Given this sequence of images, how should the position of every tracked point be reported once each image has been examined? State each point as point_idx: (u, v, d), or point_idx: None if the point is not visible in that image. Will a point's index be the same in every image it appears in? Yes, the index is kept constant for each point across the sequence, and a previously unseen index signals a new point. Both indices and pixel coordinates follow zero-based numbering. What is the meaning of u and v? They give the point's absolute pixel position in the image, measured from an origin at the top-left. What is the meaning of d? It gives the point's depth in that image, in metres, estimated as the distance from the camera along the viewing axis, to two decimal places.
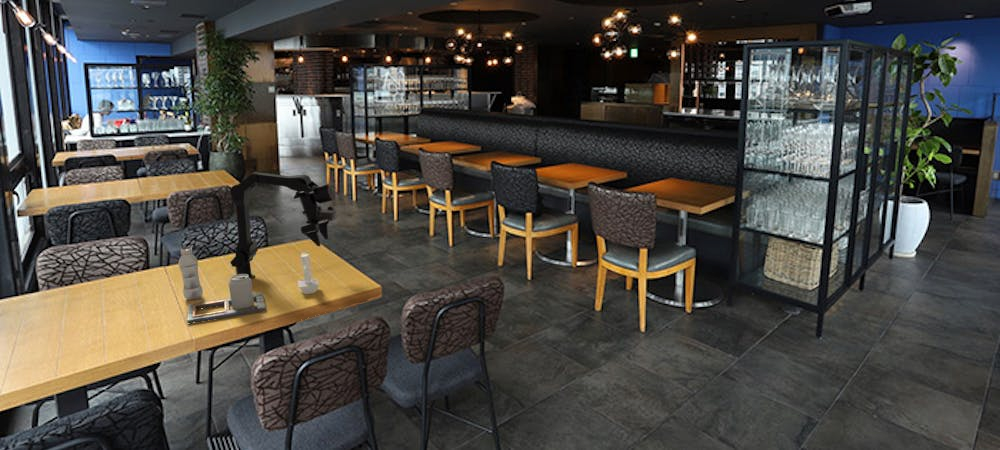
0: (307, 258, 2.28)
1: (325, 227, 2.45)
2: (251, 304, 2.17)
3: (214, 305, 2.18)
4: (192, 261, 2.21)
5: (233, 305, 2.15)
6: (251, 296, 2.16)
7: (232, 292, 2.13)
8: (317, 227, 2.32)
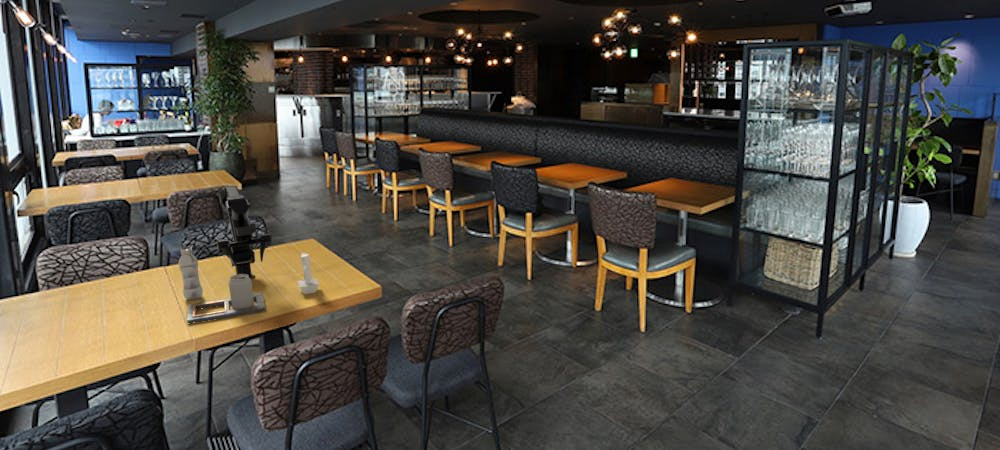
0: (307, 258, 2.28)
1: (260, 248, 2.25)
2: (251, 304, 2.17)
3: (214, 305, 2.18)
4: (192, 261, 2.21)
5: (233, 305, 2.15)
6: (251, 296, 2.16)
7: (232, 292, 2.13)
8: (223, 244, 2.19)
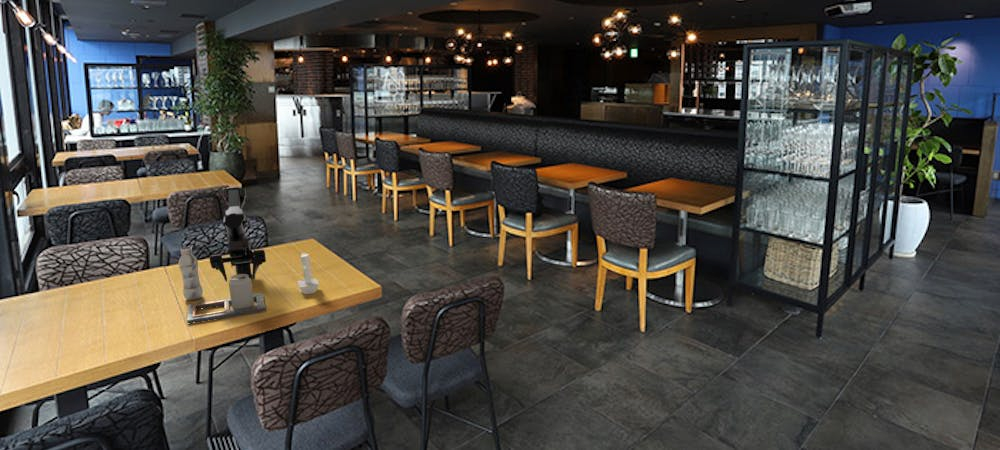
0: (307, 258, 2.28)
1: (253, 264, 2.21)
2: (251, 304, 2.17)
3: (214, 305, 2.18)
4: (192, 261, 2.21)
5: (233, 305, 2.15)
6: (251, 296, 2.16)
7: (232, 292, 2.13)
8: (215, 258, 2.16)
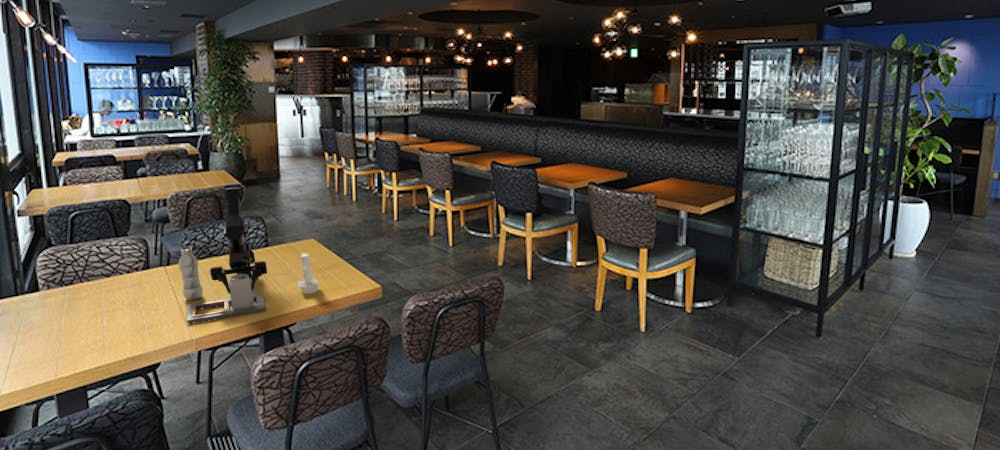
0: (307, 258, 2.28)
1: (252, 276, 2.18)
2: (251, 304, 2.17)
3: (214, 305, 2.18)
4: (192, 261, 2.21)
5: (233, 305, 2.15)
6: (251, 296, 2.16)
7: (232, 292, 2.13)
8: (216, 271, 2.13)
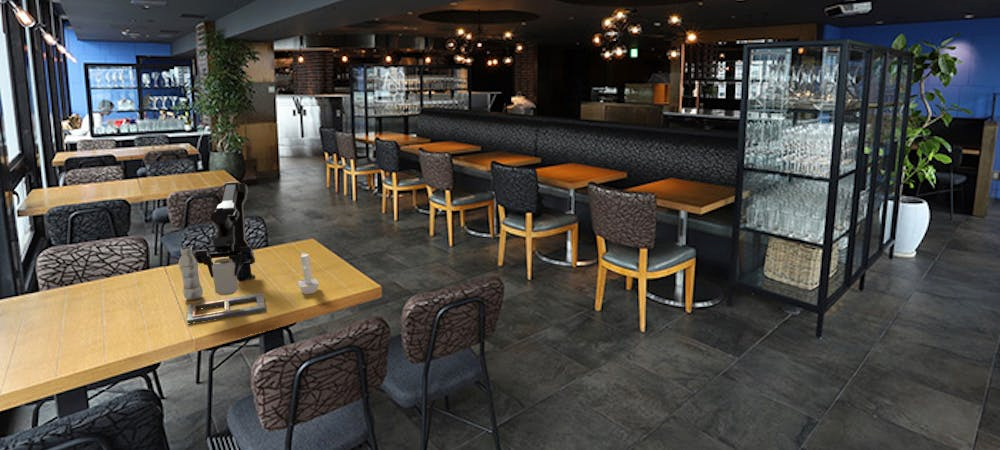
0: (307, 258, 2.28)
1: None
2: (234, 289, 2.12)
3: (214, 305, 2.18)
4: (192, 261, 2.21)
5: (216, 289, 2.11)
6: (234, 281, 2.12)
7: (214, 276, 2.09)
8: (200, 254, 2.10)
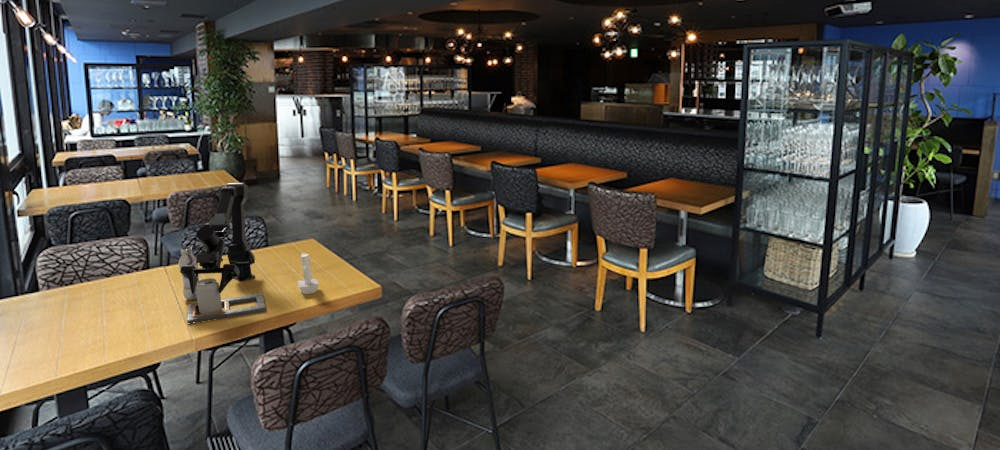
0: (307, 258, 2.28)
1: None
2: (216, 310, 2.11)
3: None
4: (192, 261, 2.21)
5: (199, 309, 2.11)
6: (216, 302, 2.11)
7: (197, 296, 2.09)
8: (185, 269, 2.11)
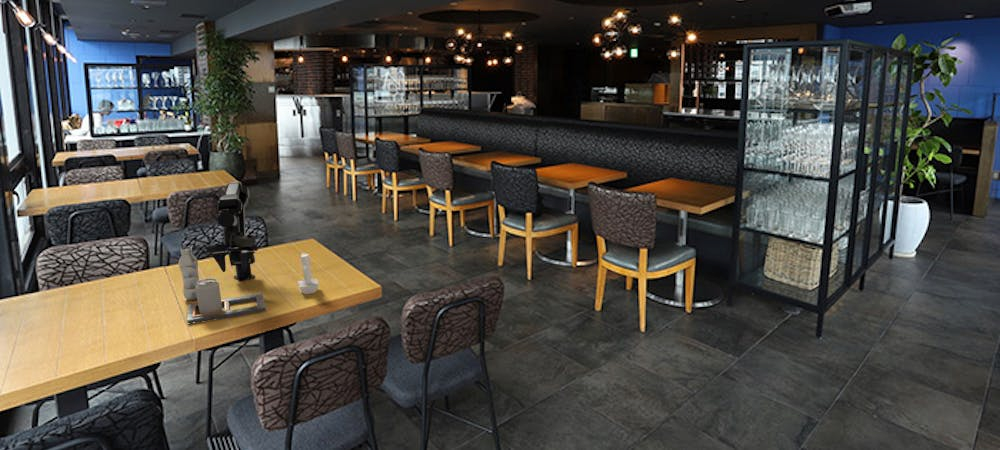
0: (307, 258, 2.28)
1: (246, 257, 2.29)
2: (216, 310, 2.11)
3: None
4: (192, 261, 2.21)
5: (199, 309, 2.11)
6: (216, 302, 2.11)
7: (197, 296, 2.09)
8: (221, 249, 2.18)
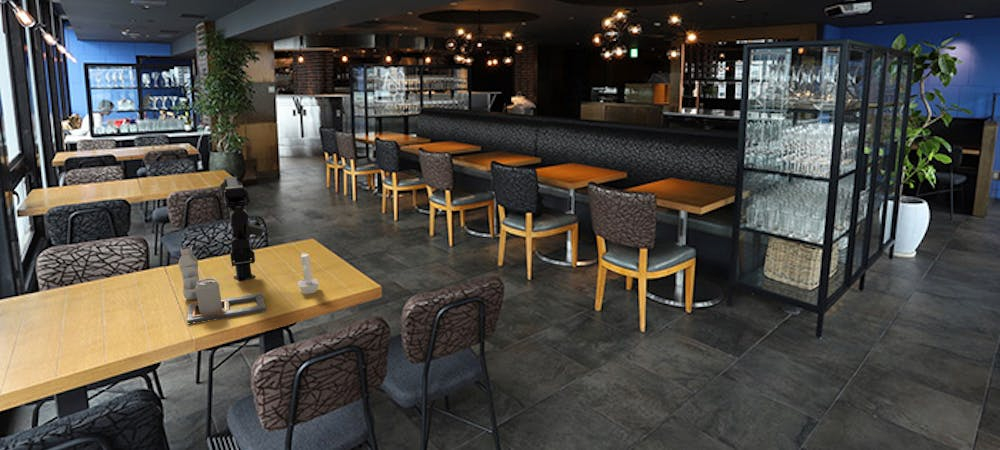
0: (307, 258, 2.28)
1: None
2: (216, 310, 2.11)
3: None
4: (192, 261, 2.21)
5: (199, 309, 2.11)
6: (216, 302, 2.11)
7: (197, 296, 2.09)
8: (249, 242, 2.24)
